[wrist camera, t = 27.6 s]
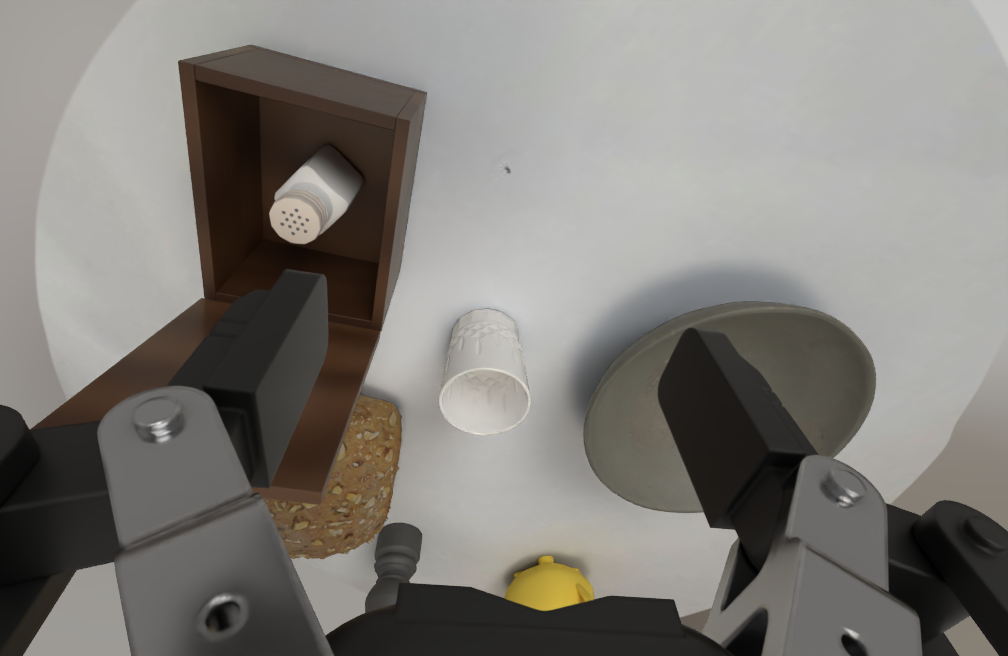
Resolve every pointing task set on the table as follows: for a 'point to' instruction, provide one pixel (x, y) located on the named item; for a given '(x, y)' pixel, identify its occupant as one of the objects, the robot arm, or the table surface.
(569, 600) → the teapot
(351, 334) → the lid
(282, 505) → the bread
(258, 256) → the compartment
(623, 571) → the table surface
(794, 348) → the bowl
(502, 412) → the white cup
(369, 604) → the candle holder
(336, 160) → the pepper shaker
